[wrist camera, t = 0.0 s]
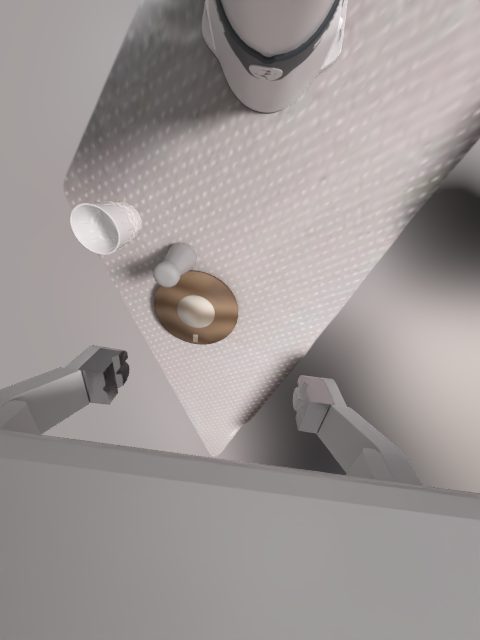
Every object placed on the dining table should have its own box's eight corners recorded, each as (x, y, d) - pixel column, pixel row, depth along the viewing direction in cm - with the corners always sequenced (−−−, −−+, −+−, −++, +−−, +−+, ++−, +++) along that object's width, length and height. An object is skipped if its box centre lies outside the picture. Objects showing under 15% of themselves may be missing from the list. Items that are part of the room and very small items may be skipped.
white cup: (98, 216, 44) (60, 226, 36) (120, 187, 41) (85, 191, 32) (130, 248, 47) (103, 263, 39) (153, 223, 44) (129, 235, 36)
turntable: (152, 264, 48) (149, 266, 47) (243, 277, 48) (243, 279, 47) (159, 336, 59) (157, 338, 58) (233, 346, 59) (232, 349, 58)
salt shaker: (174, 266, 49) (150, 292, 38) (169, 239, 45) (142, 260, 35) (200, 267, 48) (184, 293, 37) (197, 240, 45) (178, 260, 34)
